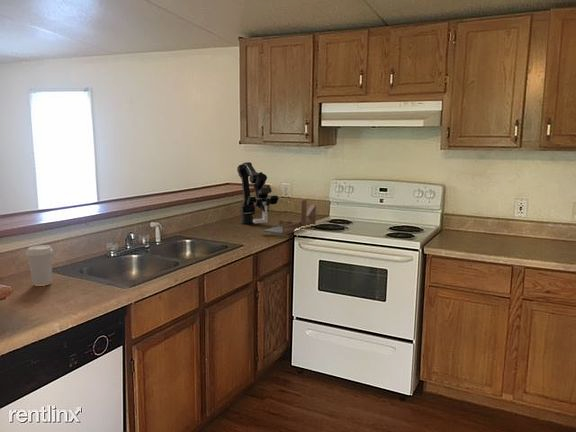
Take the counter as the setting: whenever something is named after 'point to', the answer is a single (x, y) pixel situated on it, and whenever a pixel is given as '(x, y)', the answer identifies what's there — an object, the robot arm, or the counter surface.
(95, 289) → the counter surface
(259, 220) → the bracket
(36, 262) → the coffee cup
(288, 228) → the walls
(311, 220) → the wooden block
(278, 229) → the mat
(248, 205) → the robot arm
